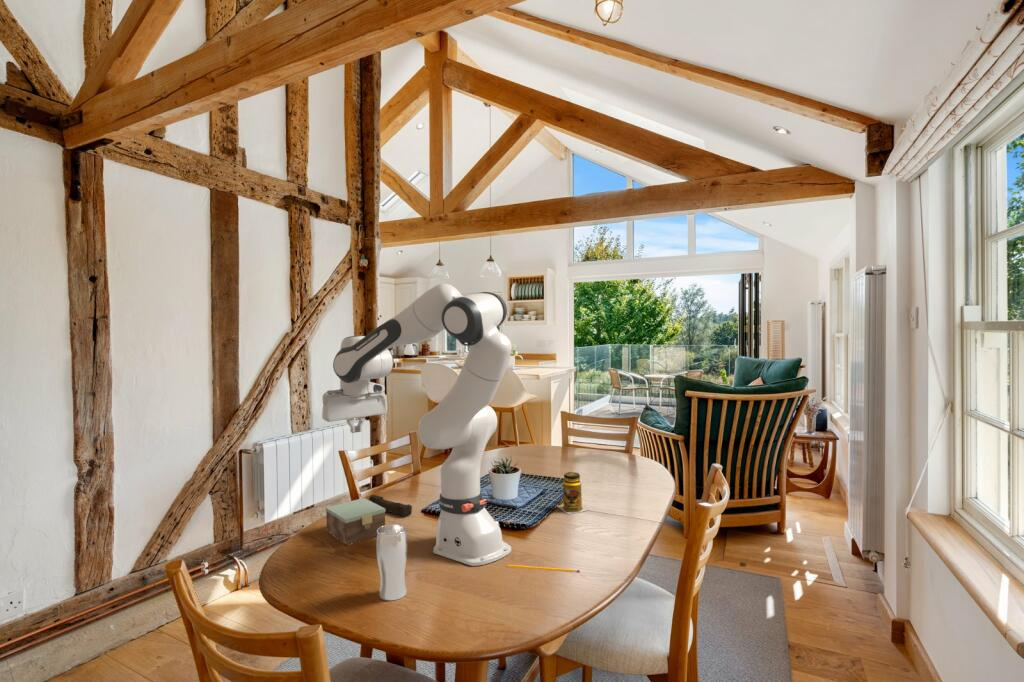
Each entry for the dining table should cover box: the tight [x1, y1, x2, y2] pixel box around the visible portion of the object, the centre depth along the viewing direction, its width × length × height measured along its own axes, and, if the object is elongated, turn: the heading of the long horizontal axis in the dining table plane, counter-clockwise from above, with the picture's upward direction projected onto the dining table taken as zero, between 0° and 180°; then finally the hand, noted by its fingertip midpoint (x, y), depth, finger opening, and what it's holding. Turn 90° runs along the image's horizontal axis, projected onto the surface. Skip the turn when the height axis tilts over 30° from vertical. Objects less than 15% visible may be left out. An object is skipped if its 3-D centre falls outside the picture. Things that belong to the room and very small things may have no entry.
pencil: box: [506, 564, 581, 573], centre depth 126 cm, size 1×18×1 cm, turn 78°
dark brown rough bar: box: [368, 494, 413, 519], centre depth 170 cm, size 19×4×5 cm, turn 55°
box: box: [325, 510, 386, 546], centre depth 151 cm, size 15×12×6 cm
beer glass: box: [375, 523, 408, 602], centre depth 115 cm, size 7×7×15 cm
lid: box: [325, 497, 386, 525], centre depth 151 cm, size 15×12×3 cm
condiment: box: [556, 471, 588, 515], centre depth 168 cm, size 7×8×12 cm
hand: (356, 432), depth 156 cm, fingers closed
